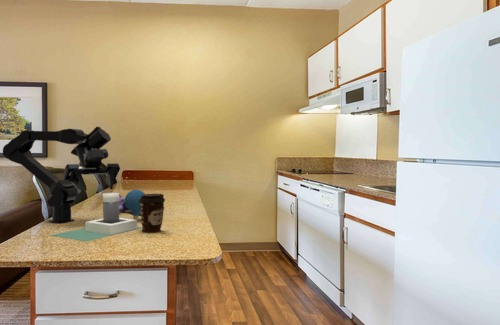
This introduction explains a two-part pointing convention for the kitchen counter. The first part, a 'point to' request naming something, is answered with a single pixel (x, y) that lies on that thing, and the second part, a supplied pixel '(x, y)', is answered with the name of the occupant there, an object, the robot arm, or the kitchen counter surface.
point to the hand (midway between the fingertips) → (99, 189)
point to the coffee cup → (151, 212)
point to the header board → (82, 235)
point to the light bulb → (134, 202)
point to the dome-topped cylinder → (110, 208)
